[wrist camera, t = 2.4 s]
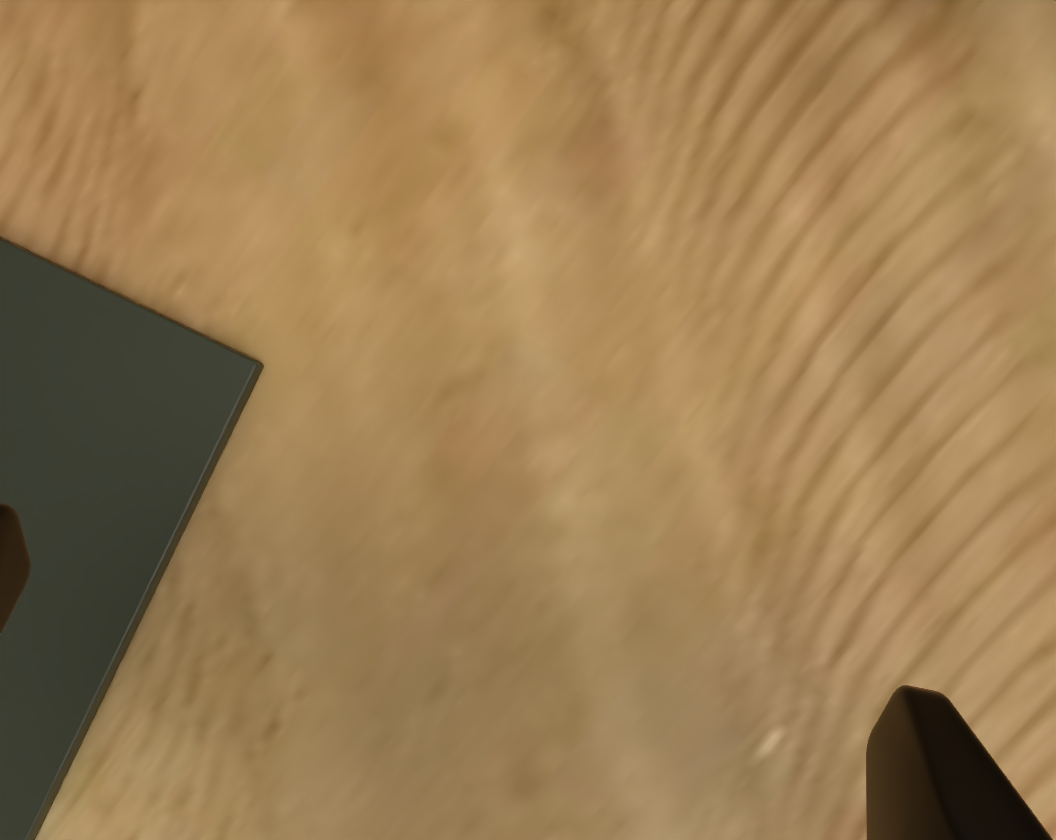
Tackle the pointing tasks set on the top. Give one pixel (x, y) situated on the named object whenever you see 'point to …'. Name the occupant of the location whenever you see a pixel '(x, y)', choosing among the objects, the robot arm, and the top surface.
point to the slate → (91, 497)
